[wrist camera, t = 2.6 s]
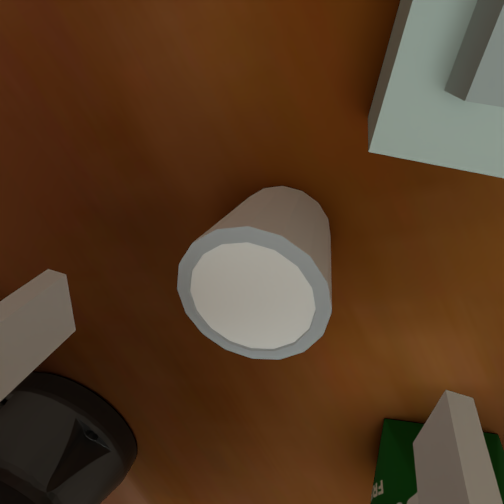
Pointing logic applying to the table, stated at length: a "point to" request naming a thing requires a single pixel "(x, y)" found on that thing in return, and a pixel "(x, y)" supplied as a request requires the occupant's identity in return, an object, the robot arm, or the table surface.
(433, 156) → the portable stove
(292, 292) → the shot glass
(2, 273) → the table surface
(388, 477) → the milk carton
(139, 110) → the table surface
